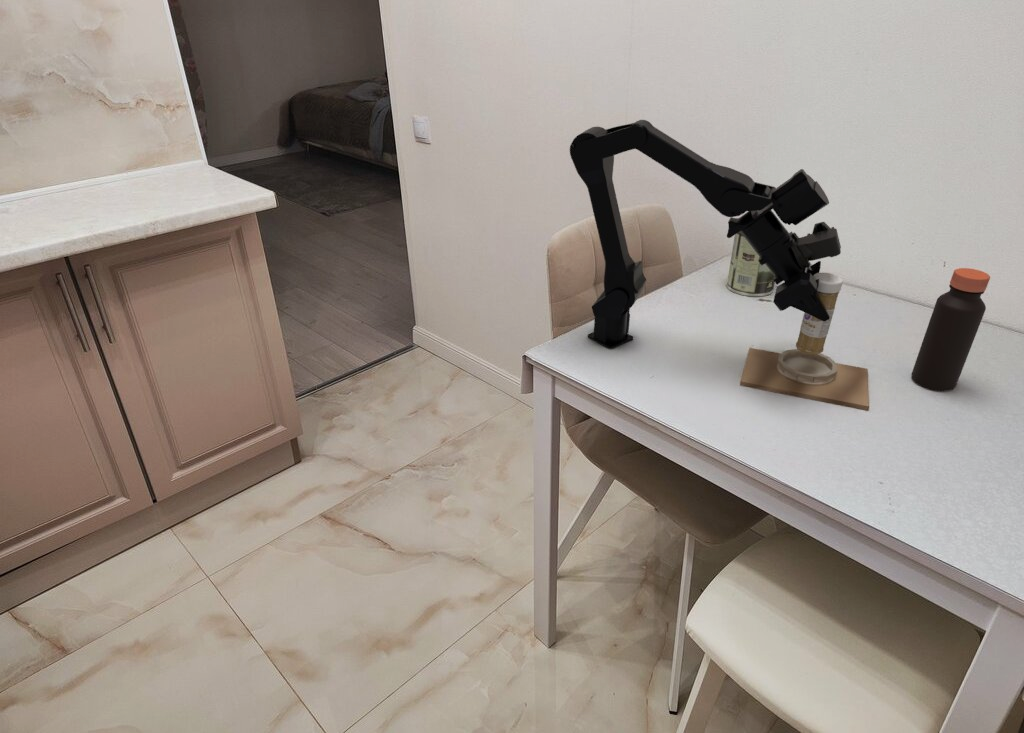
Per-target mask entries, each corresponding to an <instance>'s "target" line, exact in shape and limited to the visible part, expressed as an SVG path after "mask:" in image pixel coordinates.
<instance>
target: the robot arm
mask: <svg viewBox="0 0 1024 733" xmlns="http://www.w3.org/2000/svg"><path fill="white" fill-rule="evenodd" d="M631 150H637V151H638V152H640V153H642V154H643V155H645V156H647V157H648V158H650V159H651V160H653V161H654V162H656V163H658V164H659V165H661V166H662V167H664V168H666V169H667V170H669V171H670V172H672V173H674V174H675V175H677V176H678V177H680V178H681V179H683V180H684V181H686V182H687V183H689V184H691V185H692V186H694V187H695V188H696V189H697V190H698V191H699V192H700V194H701V195H702V196H703V198H704V199H705V200H706V201H707V202H708V203H709V204H710V205H711V207H713V208H714V209H715V210H716V211H717V212H719V213H720V215H722V216H724V217H727V218H729V220H728V223H727V224H728V230H727V234H726V237H727V239H731V238H733V237H734V236H735V234H737V233H738V232H741V234H742V235H743V236H744V237H745V239H746V240H747V241H748V243H749V244H750V245H751V246H752V248H753V249H754V250H755V252H756V253H757V254H758V255H759V260H758V261H759V263H760V264H761V265H763V264H766V266H767V267H768V268H769V270H770V271H771V272H772V273H773V275H774V279H773V280H774V282H775V285H778V286H776V288H775V292H774V297H773V302H772V303H774V305H775V306H776V307H777V309H778V311H780V312H782V311H785V310H787V309H788V308H791V307H792V308H794V309H796V310H798V311H802V312H803V313H807V314H809V315H811V316H813V317H815V318H817V319H820V320H822V321H827V320H829V319H830V316H829V314H828V312H827V310H826V308H825V306H824V304H823V303H822V301H821V299H820V297H819V295H818V293H817V289H818V286H819V279H817V280H815V279H814V277H813V275H814V274H816V273H820V270H821V263H822V262H821V259H825V258H834V257H838V256H840V254H841V252H842V251H841V249H842V246H841V242H840V237H839V233H838V230H837V228H835V227H834V226H832V227H830V226H829V225H828V223H827V222H825V221H821V222H817V223H814V226H813V230H812V232H811V233H810V232H809V233H807V234H806V235H804V236H800V237H799V236H798V234H797V233H796V232H793V231H788V230H787V229H786V227H785V226H784V225H783V224H785V225H789V226H790V225H791V224H792V225H794V226H797V225H799V224H801V223H802V222H803V221H805V220H806V219H808V218H809V217H811V216H813V215H814V214H815V213H817V212H818V211H821V209H823V208H825V207H826V206H828V205H829V204H830V201H829V199H828V196H827V194H826V192H825V190H824V189H823V187H822V186H821V185H820V183H819V182H818V181H815V180H814V178H813V177H811V175H809V174H808V173H807V172H806V171H805V170H804V169H803V168H802V169H799V170H797V172H795V173H794V174H793V175H792V176H790V178H789V179H787V180H786V181H785V182H783V183H782V184H780V185H779V186H777V187H776V186H772V185H769V184H765V183H760V182H755V181H754V180H753V178H752V177H751V176H750V175H747V174H746V173H744V172H741V171H738V170H736V169H734V168H731V167H728V166H724V165H720V164H717V163H713V162H712V161H711V162H710V161H709V160H708V159H706V158H704V157H703V156H701V155H699V154H698V153H696V152H695V151H693V150H691V149H690V148H689V147H687V146H685V145H684V144H682V142H681V143H680V142H679V141H678V140H676V139H675V138H672V136H669V135H668V134H666V133H665V132H664V131H661V130H660V129H659V128H657V127H655V126H654V125H653V124H652V123H651V122H650V121H648V120H646V119H639V120H636V121H635V122H632V123H631V122H630V123H628V124H627V123H626V124H622V125H618V126H614V127H610V128H606V129H605V128H604V127H601V126H591V127H590V128H588V129H585V130H584V131H583V132H580V133H579V134H578V135H576V136H575V137H574V138H573V140H572V141H571V144H570V146H569V156H570V159H571V160H572V163H573V165H574V166H573V167H574V168H575V171H576V172H577V175H578V176H579V177H580V179H581V180H582V181H583V183H584V184H585V186H586V188H587V191H588V195H589V200H590V204H591V208H592V213H593V216H594V221H595V225H596V228H597V233H598V237H599V242H600V246H601V250H602V254H603V258H604V274H603V292H602V293H600V295H599V297H598V298H597V299H596V300H595V301H594V302H593V304H592V306H591V310H592V313H593V316H594V321H593V323H594V324H593V332H590V333H588V334H587V338H589V339H591V340H592V341H595V342H596V343H598V344H600V345H602V346H603V347H606V348H607V349H614V348H617V347H618V346H621V345H623V344H626V343H628V342H630V341H633V340H634V336H633V335H631V334H629V331H630V330H629V329H630V318H631V314H630V312H631V311H630V309H631V308H632V307H633V306H634V305H635V303H636V302H637V299H638V298H639V297H640V295H641V294H642V292H643V290H644V286H645V283H646V281H647V278H646V276H645V274H644V270H643V269H644V268H643V261H642V260H639V261H636V262H635V261H634V259H633V258H632V257H631V254H630V253H629V249H628V244H627V241H626V240H627V239H626V235H625V230H624V226H623V222H622V217H621V212H620V208H619V203H618V198H617V194H616V190H615V186H614V185H615V184H614V180H613V173H614V164H615V155H619V154H622V153H626V152H628V151H631ZM773 211H774V212H773ZM739 216H740V217H739ZM737 217H738V218H737ZM782 223H783V224H782ZM816 260H817V261H816ZM818 260H819V261H818ZM811 261H816V262H815V263H814V264H812V263H811ZM782 282H783V283H782Z"/></svg>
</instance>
